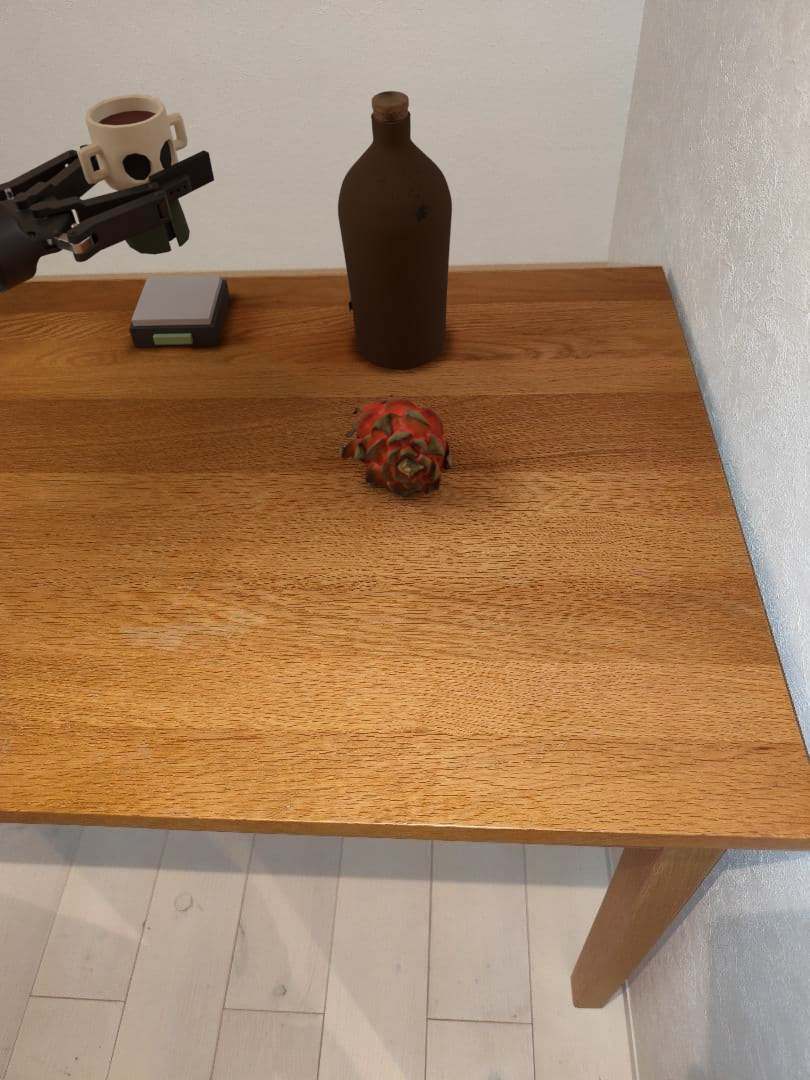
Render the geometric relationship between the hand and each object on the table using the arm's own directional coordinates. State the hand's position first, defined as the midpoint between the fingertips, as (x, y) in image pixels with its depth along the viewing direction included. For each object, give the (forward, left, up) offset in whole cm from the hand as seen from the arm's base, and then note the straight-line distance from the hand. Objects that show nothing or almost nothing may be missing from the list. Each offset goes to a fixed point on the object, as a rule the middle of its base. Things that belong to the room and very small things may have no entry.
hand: (182, 154), depth 86 cm
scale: (-3, -2, -18) cm, 18 cm away
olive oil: (+21, -6, -18) cm, 28 cm away
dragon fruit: (+21, -26, -18) cm, 38 cm away
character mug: (-3, -4, -7) cm, 9 cm away
